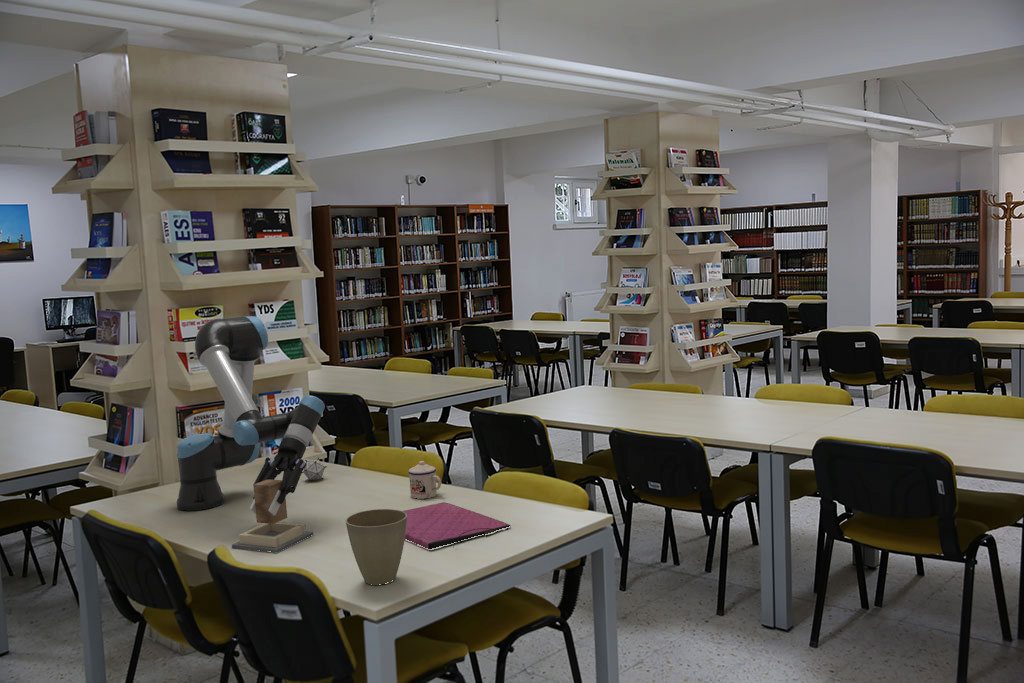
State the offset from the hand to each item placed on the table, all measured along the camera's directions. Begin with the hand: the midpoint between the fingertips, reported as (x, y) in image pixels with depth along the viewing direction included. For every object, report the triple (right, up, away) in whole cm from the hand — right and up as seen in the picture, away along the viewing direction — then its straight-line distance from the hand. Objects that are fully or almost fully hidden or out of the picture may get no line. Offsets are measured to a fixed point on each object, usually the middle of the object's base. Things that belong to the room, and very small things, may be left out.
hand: (262, 512), depth 247 cm
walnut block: (+2, -3, +4) cm, 5 cm away
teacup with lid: (+42, -3, +44) cm, 61 cm away
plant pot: (+38, -11, -31) cm, 50 cm away
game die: (-2, -3, +74) cm, 74 cm away
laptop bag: (+50, -7, +9) cm, 51 cm away
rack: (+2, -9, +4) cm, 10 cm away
